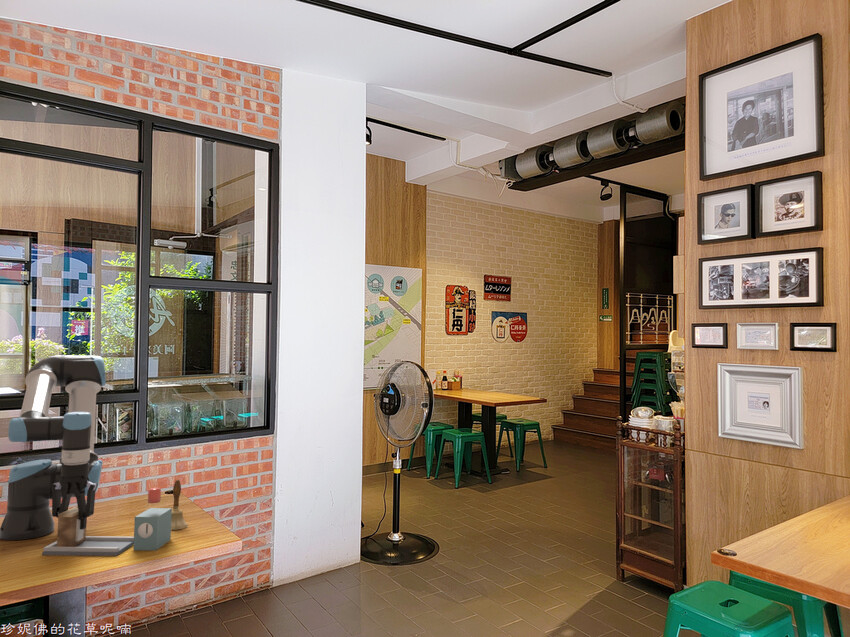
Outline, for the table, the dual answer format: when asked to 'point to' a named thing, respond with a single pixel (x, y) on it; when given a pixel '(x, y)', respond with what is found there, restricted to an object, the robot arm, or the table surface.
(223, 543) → the table surface
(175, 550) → the table surface
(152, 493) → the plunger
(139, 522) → the cabinet
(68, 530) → the tan rectangular block
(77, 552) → the track
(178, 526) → the hand bell
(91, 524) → the table surface
